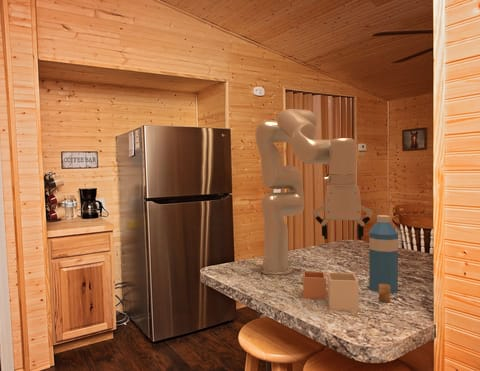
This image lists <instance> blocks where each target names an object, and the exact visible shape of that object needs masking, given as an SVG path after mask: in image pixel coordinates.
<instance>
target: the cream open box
mask: <svg viewBox="0 0 480 371" xmlns="http://www.w3.org/2000/svg"><path fill="white" fill-rule="evenodd" d="M359 290H360V289H359V280H358V278H357V275H356V273H351V272H349V273H348V272H327V302H328V308H329V310H333V311H334V310H339V311H355V312H356V311H357V312H358V311H360V310H359V303H360V302H359V299H360V298H359V293H360V292H359Z"/></svg>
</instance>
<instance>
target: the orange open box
mask: <svg viewBox="0 0 480 371" xmlns="http://www.w3.org/2000/svg"><path fill="white" fill-rule="evenodd" d="M302 291H303V292H302V298H303V299H319V300H320V299H321V300H323V299H325V300H326V299H327V277H326V272H325V271H302Z"/></svg>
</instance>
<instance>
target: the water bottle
mask: <svg viewBox="0 0 480 371" xmlns="http://www.w3.org/2000/svg"><path fill="white" fill-rule="evenodd" d="M376 217H377V218H376V222H375V223H374V224H373V226H372V227H371V229H370V230H369V236H368V238H369V239H368V240H369V242H368V243H369V244H368V245H369V246H368V247H369V248H368V250H369V252H368V253H369V254H368V256H369V257H368V258H369V264H368V266H369V270H368V272H369V273H368V274H369V277H368V279H369V281H368V282H369V283H368V284H369V290H372V291H374V292H377V293H379V284H388V285H390V294H391V293H395V292H398V291H399V287H398V285H399V282H398V281H399V276H398V275H399V262H398V261H399V233H398V232H397V231H396V229H395V227H394V226H393V224H392V223H391V219H390V218H391V216H390V215H386V214H385V215H384V214H382V215H381V214H380V215H378V214H377V215H376Z"/></svg>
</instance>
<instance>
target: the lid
mask: <svg viewBox="0 0 480 371" xmlns="http://www.w3.org/2000/svg"><path fill="white" fill-rule="evenodd" d="M378 301H379V302H380V303H385V304H388V303H390V302H391V293H390V285H388V284H379V292H378Z"/></svg>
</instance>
